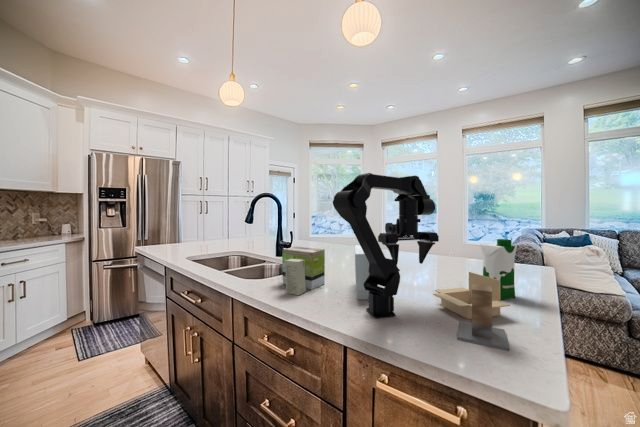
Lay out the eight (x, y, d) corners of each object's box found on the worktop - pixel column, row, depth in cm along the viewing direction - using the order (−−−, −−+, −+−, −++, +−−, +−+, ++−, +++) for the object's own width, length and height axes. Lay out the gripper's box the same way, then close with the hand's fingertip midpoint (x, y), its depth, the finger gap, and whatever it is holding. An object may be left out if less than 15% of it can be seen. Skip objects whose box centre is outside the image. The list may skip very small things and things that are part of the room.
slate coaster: (457, 339, 62) (457, 336, 62) (459, 323, 71) (459, 321, 71) (509, 350, 57) (509, 347, 57) (504, 331, 66) (504, 329, 66)
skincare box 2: (355, 282, 111) (355, 244, 111) (368, 282, 110) (368, 245, 110) (355, 299, 90) (354, 253, 90) (371, 300, 90) (371, 253, 89)
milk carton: (501, 301, 87) (501, 241, 87) (477, 293, 96) (477, 238, 96) (520, 298, 90) (520, 239, 90) (494, 290, 99) (495, 237, 98)
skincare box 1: (306, 292, 98) (305, 259, 98) (299, 295, 94) (298, 261, 94) (292, 289, 101) (292, 258, 101) (285, 292, 98) (284, 260, 98)
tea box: (281, 284, 109) (281, 248, 108) (296, 279, 117) (296, 245, 117) (312, 290, 101) (311, 251, 100) (325, 284, 109) (325, 248, 109)
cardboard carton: (468, 325, 70) (468, 287, 70) (426, 303, 86) (426, 272, 86) (510, 319, 73) (510, 283, 73) (462, 299, 90) (462, 269, 90)
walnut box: (471, 335, 63) (472, 289, 63) (472, 327, 67) (472, 284, 67) (491, 339, 61) (492, 291, 61) (490, 330, 65) (490, 286, 65)
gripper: (418, 214, 95) (418, 258, 95) (370, 215, 90) (370, 261, 90) (439, 215, 84) (439, 264, 84) (386, 216, 79) (386, 268, 79)
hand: (408, 264), depth 85 cm, fingers open, 9 cm apart
